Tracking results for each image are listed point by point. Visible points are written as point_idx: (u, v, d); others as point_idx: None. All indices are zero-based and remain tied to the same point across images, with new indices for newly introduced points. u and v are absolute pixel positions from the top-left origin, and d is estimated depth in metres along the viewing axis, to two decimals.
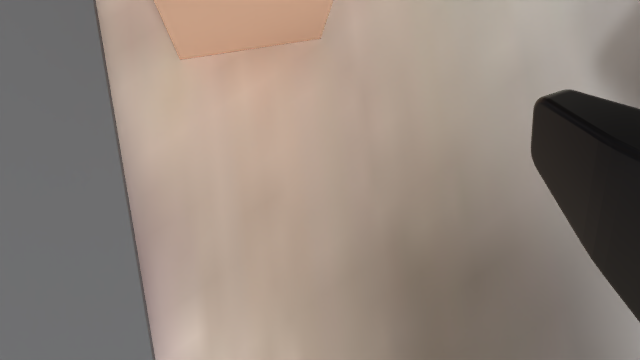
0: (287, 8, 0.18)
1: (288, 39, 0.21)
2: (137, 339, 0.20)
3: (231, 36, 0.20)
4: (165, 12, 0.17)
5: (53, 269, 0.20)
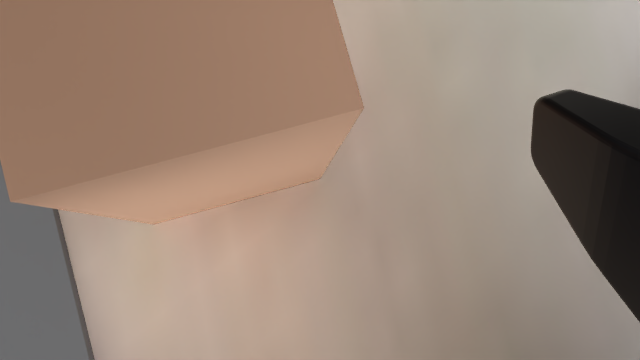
0: (273, 178, 0.14)
1: (281, 188, 0.18)
2: None
3: (210, 202, 0.16)
4: (117, 215, 0.13)
5: None
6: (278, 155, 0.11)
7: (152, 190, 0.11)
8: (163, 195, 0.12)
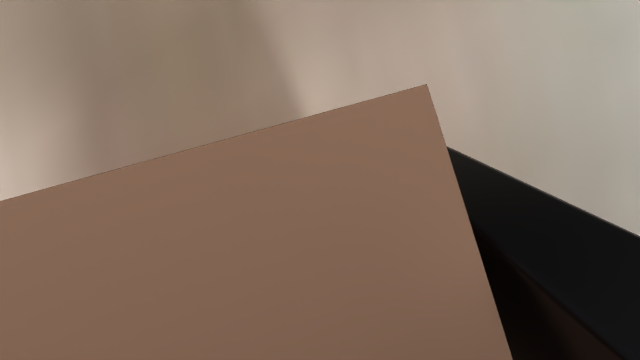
0: None
1: None
2: None
3: None
4: None
5: None
6: None
7: None
8: None
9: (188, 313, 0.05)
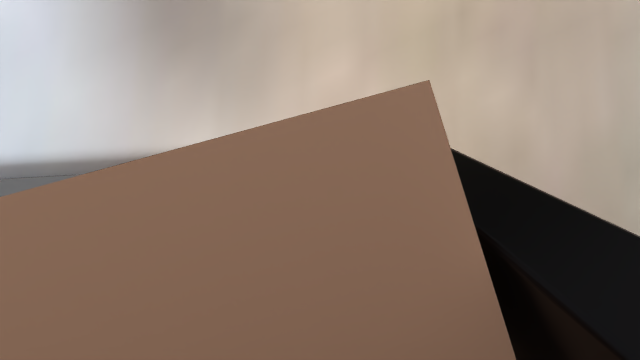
0: None
1: None
2: None
3: None
4: None
5: None
6: None
7: None
8: None
9: (190, 309, 0.05)
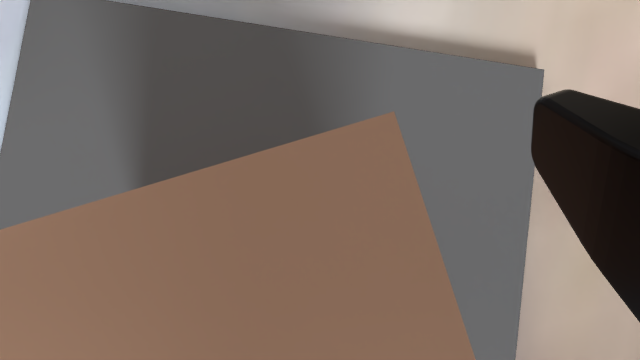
0: None
1: None
2: None
3: None
4: None
5: None
6: None
7: None
8: None
9: (210, 296, 0.06)
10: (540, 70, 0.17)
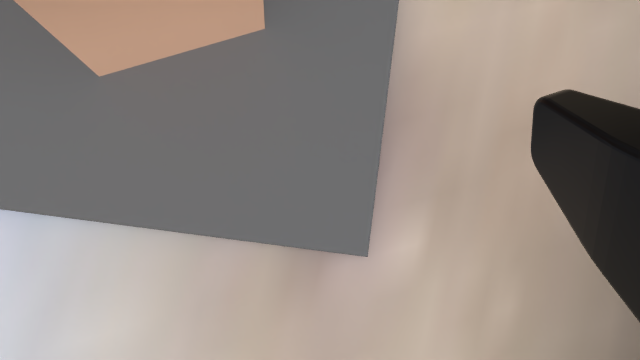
0: None
1: (225, 35, 0.18)
2: (358, 225, 0.18)
3: (150, 39, 0.16)
4: (44, 19, 0.13)
5: (294, 121, 0.18)
6: None
7: None
8: None
9: None
10: None
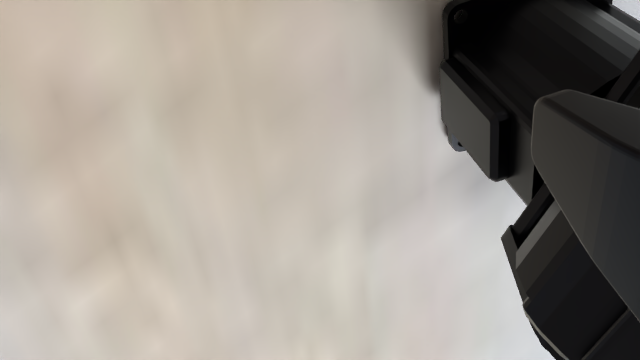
0: None
1: None
2: None
3: None
4: None
5: None
6: None
7: None
8: None
9: None
10: None
